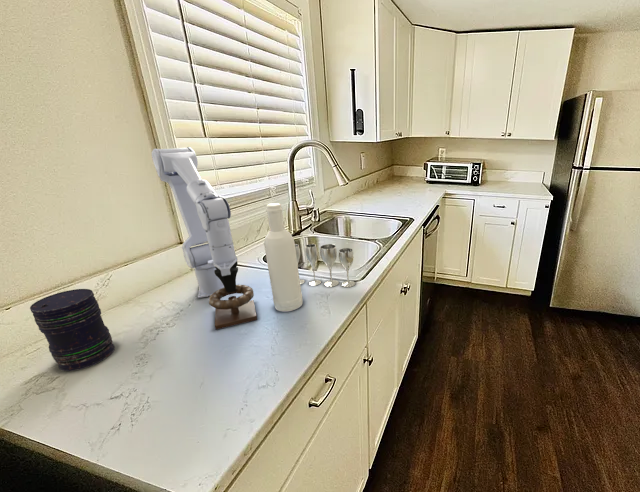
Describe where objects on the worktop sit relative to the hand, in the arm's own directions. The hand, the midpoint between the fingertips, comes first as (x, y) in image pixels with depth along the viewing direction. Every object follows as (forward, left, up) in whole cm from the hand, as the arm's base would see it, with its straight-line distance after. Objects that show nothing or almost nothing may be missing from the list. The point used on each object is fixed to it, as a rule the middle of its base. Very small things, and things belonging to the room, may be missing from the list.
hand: (231, 289), depth 91 cm
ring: (+4, 0, 0) cm, 4 cm away
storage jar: (+7, -31, -6) cm, 32 cm away
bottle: (+5, +14, -6) cm, 16 cm away
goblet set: (-6, +24, -6) cm, 26 cm away
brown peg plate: (+4, 0, -6) cm, 8 cm away
